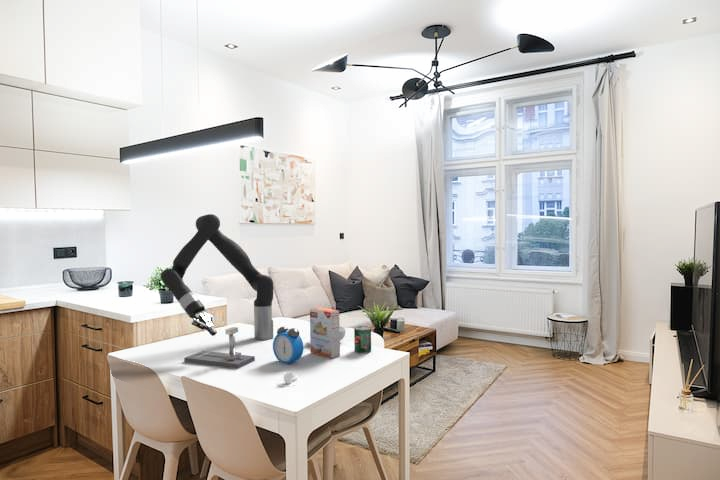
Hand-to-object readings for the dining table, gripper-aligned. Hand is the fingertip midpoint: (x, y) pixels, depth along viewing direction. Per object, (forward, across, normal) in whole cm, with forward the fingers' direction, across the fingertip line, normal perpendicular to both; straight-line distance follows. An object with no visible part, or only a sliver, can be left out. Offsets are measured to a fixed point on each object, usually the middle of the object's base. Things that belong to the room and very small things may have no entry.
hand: (214, 334), depth 200 cm
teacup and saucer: (+42, -12, -24) cm, 50 cm away
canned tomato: (+48, +36, -30) cm, 67 cm away
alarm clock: (+31, +9, -14) cm, 35 cm away
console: (+10, 0, +7) cm, 12 cm away
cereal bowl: (+33, +45, -15) cm, 57 cm away
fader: (+13, 0, 0) cm, 13 cm away
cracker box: (+38, +24, -20) cm, 50 cm away
